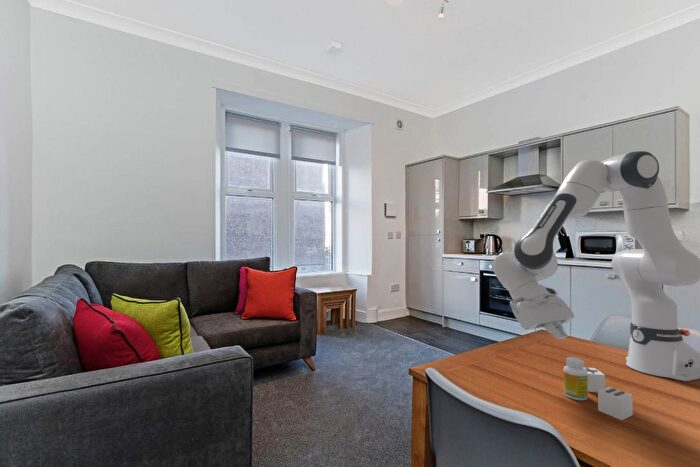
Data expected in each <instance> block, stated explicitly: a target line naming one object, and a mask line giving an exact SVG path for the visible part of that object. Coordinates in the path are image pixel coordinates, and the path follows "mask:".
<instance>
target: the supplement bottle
mask: <svg viewBox="0 0 700 467" xmlns="http://www.w3.org/2000/svg"><path fill="white" fill-rule="evenodd" d="M565 360H566V361H565V362H566V363H565V364H566V365H565V366H564V367H563V395H564V396H566V397H567V398H569V399H572V400H575V401H586V400H588V397H589V396H588V393H589V392H588V375H587V371H586V370H585V369H584V368H585V361H584V360H583V359H581V358H578V357H571V356H570V357H569V356H568V357H566V358H565ZM583 367H584V368H583Z"/></svg>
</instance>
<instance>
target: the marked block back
mask: <svg viewBox="0 0 700 467" xmlns="http://www.w3.org/2000/svg"><path fill="white" fill-rule="evenodd" d="M583 368H584V369H585V370H586V371H587V375H588V393H598V390H601V389H604V388H606V375H605V374H604V373H603V372H602V371H600V370H598V369H596V368H595V367H585V366H584V367H583Z"/></svg>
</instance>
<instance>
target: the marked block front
mask: <svg viewBox="0 0 700 467" xmlns="http://www.w3.org/2000/svg"><path fill="white" fill-rule="evenodd" d="M633 407H634V406H633V394H632V393H629V392H626V391H623V390H620V389H617V388H614V387H611V386H607V387H606V386H605V388H604V389H601V390H598V392H597V410H598V411H599V412H601V413H603V414H606V415H608V416H611V417H613V418H616V419H618V420H620V421H624V420H625V419H627V418H629V417H632V416H633V415H634V412H633V410H634V409H633Z"/></svg>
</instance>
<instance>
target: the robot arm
mask: <svg viewBox="0 0 700 467" xmlns="http://www.w3.org/2000/svg"><path fill="white" fill-rule="evenodd" d="M659 172H660V164H659V161H658V159H657V157H655V155H653V154H652V153H651V152H649V151H644V150H643V151H642V150H641V151H640V150H639V151H630V152H628V153H623V154H618V155H614V156H610V157H609V158H606V159H603V160H600V161H599V160H596V159H584V160H583V159H582V160H581V161H579V162H577V163H576V164H575V165H574V166H573V168H572V169H571V170H570V171H569V172H568V173H567V175H566V176H565V178H564V179H563V181H562V182H561V184H560V185H559V187H558V189H557V191H556V193H555V195H554V196H553V198H552V200H551V201H550V202H549V203H548V205H547V206H546V208H545V209H544V210H543V211H542V214H541V215H540V217H539V218H538V219H537V221H536V222H535V223H534V226H533V227H532V228H531V229H530V230H528V232H526V233H525V234H524V235H522V236H521V237H520V238H519V239H518V240H517V241H516V242H515V245H514V248H513V251H503V252H501V253H499V254H498V255H497V256H496V257H495V258H494V260H493V262H492V271H493V273H494V275H495V276H496V278H497V279H498V281H499V282H500V284H501V286H503V288H505V289H507V291H508V292H509V295H510V297H511V300H510V301H509V307H511V310H512V313H513V315H514V317H515V319H516V320H517V321H518V323H519V325H520V326H521V328H523V329H524V330H525V331H531V330H535V329H541V328H544V330H545V331H546V332H548V333H549V334H551V335H552V336H553V337H554V338H555V339H556V340H558V341H559V340H563V339H566V338H567V337H568V334H567V332H566V331H565V329H564V325H563V324H568V323H569V322H570V321H572V320H573V319H574V318H575V314H574V312H573V310H572V309H571V308H570V306H568V304H567V303H566V302H565V301H564V300H563V299H562V298H561V297H560V296H558V295H559V293H558V292H557V291H556V289H555V288H553V287H552V288H550V287H547V286H545V285H542V284H539V281H542V280H545V279H547V278H549V277H551V276H553V274H555V273H556V271H557V269H558V265H559V263H558V259H557V256H556V254H555V252H554V251H555V250H554V241H555V238H556V237H557V235H558V233H559V232H561V231H560V230H561V229H562V228H563V226H564V224H565V223H566V221H567V220H568V219H569V218H571V219H578V218H582V217H584V216H585V217H586V215H587V214H588V213H590V211H591V210H592V209H593V207H594V206H595V204H596V203H597V201H598V199H599V197H600V195H601V193H602V194H603V193H606V192H607V193H608V192H609V193H610V192H618V191H619V192H620V194H621V195H622V207H623V208H622V209H623V215H624V216H623V217H624V222H625V230H626V233H627V234H628V235H629V236H630V237H632V238H633V239H635V240H636V241H637V242H638V243H639V245H640V246H641V248H639V249H638V248H632V249H626V250H621V251H618V252H616V253H615V254H614V255H613V257H612V260H611V268H612V271H613V272H614V274H616V276H618V277H619V278H620V280H621V281H622V282H623V284H624V285H625V288H626V289H627V290H626V291H627V292H628V295H629V298H630V304H631V305H630V306H631V307H630V308H631V322H630V323H629V324H630V327H629V329H630V330H629V331H630V332H629V333H630V335H631V337H630V338H629V345H628V354H627V356H626V357H625V360H626V362H625V364H626V366H628V368H631V369H632V370H636V371H637V372H640V373H644V374H648V375H652V376H657V377H661V378H662V377H663V378H668V379H669V378H670V379H674V380H678V381H683V382H690V381H694V380H699V379H700V352H699V351H698V350H696V349H695V348H694V347H692V346H691V345H690V344H689V343H687V342H686V341H684V338H683V336H685V337H689V336H690V335H691V332H690V330H689V329H684V328H678V305H677V303H676V302H675V300H674V299H672V298H671V297H669V296H668V294H666V292H665V291H664V290H663V288H662V285H665V286H672V287H673V286H675V287H676V286H677V287H679V286H680V287H681V286H692V285H695V284H696V283H698V282H699V281H700V257H699V256H697V255H696V254H694V253H693V252H691V251H690V250H688V249H687V248H686V247H685V246H684V245H683V243H682V242H681V241H680V240H679V238H678V236H677V235H676V233H675V231H674V228H673V226H672V225H673V224H672V221H671V214H670V209H669V203H668V197H667V193H666V190H665V188H664V184H663V181H662V180H661V177H659Z"/></svg>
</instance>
